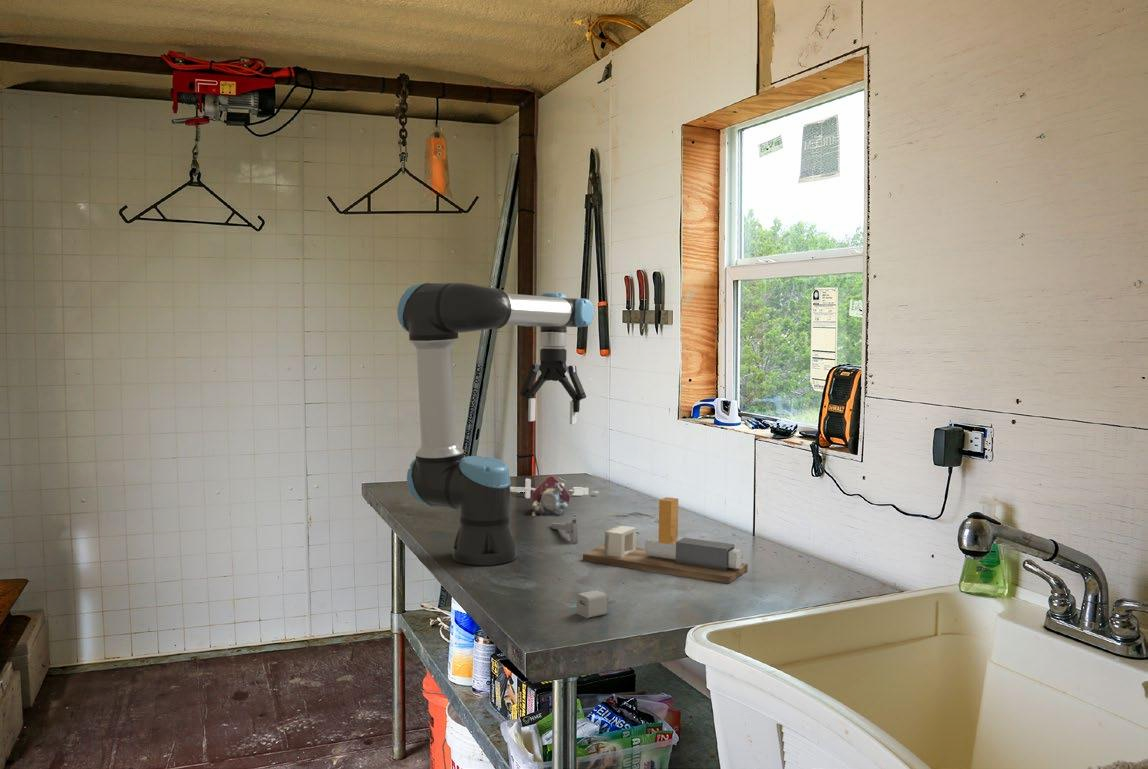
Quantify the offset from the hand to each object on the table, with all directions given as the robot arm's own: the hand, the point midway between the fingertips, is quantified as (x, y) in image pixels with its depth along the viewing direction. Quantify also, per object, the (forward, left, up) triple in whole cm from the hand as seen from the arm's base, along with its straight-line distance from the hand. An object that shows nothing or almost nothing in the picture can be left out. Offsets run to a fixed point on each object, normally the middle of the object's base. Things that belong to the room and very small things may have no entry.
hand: (552, 422), depth 255 cm
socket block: (-31, -37, -26) cm, 55 cm away
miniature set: (+29, +20, -28) cm, 45 cm away
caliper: (-17, -14, -28) cm, 35 cm away
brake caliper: (+5, +3, -28) cm, 28 cm away
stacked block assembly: (-31, -56, -25) cm, 68 cm away
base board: (-31, -49, -27) cm, 64 cm away
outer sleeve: (-31, -59, -26) cm, 71 cm away
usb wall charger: (-69, -52, -28) cm, 90 cm away
